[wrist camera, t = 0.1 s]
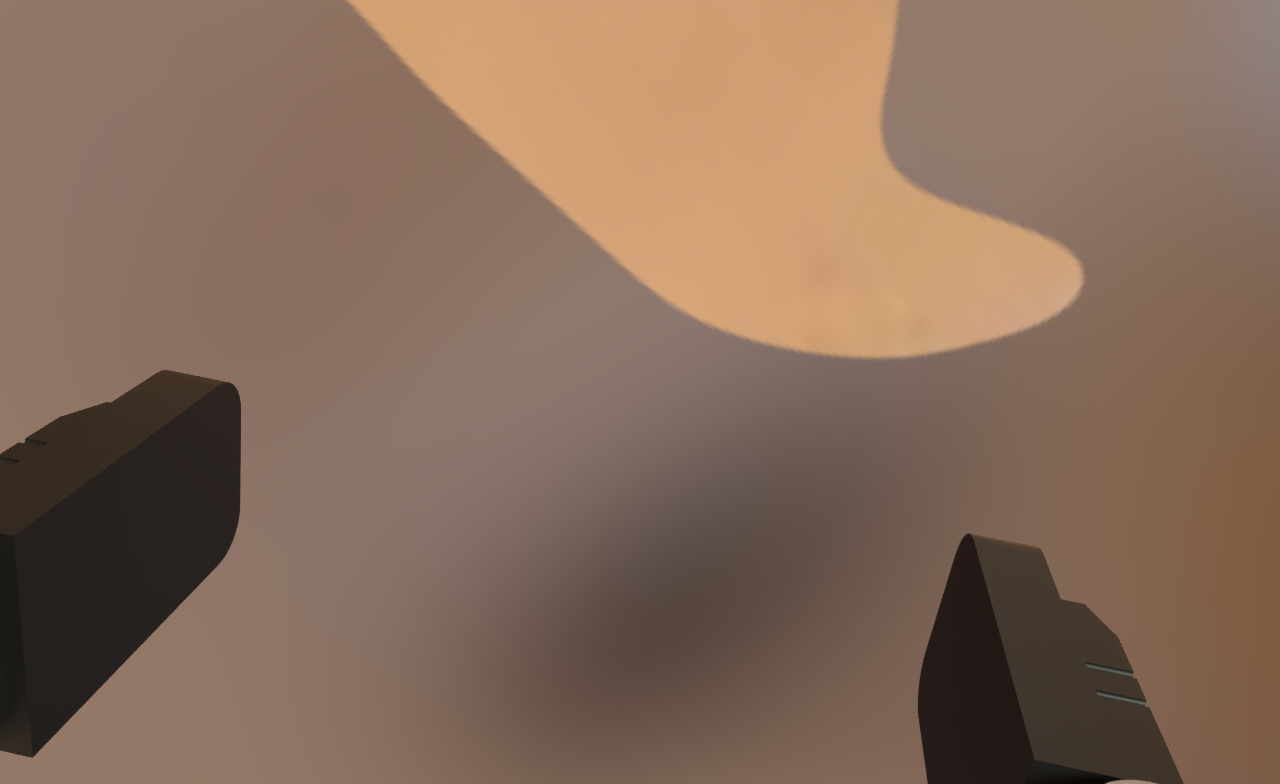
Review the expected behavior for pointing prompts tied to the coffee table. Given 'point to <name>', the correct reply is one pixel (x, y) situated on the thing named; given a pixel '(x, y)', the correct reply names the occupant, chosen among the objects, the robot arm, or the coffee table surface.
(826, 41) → the coffee table surface
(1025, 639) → the robot arm
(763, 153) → the coffee table surface
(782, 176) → the coffee table surface
